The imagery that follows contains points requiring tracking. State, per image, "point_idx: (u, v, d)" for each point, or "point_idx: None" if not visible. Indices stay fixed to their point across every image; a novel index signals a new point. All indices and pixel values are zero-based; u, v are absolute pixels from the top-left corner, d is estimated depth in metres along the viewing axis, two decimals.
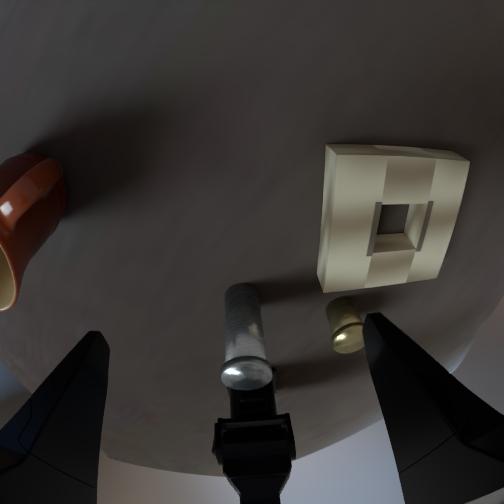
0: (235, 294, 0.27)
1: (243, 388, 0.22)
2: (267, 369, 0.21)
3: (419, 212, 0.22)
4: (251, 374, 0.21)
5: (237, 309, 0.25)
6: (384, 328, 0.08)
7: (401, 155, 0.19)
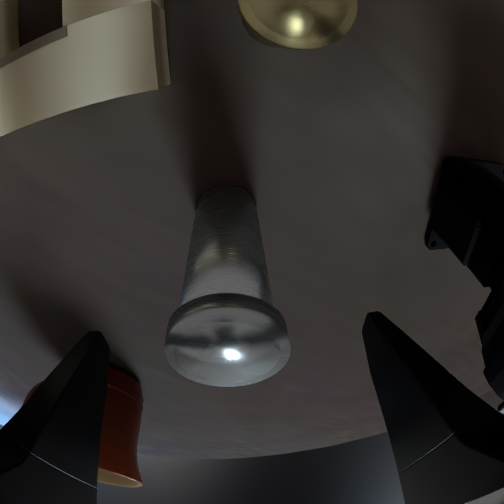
0: None
1: (280, 358, 0.09)
2: (184, 326, 0.08)
3: None
4: (207, 350, 0.08)
5: None
6: (384, 328, 0.08)
7: None
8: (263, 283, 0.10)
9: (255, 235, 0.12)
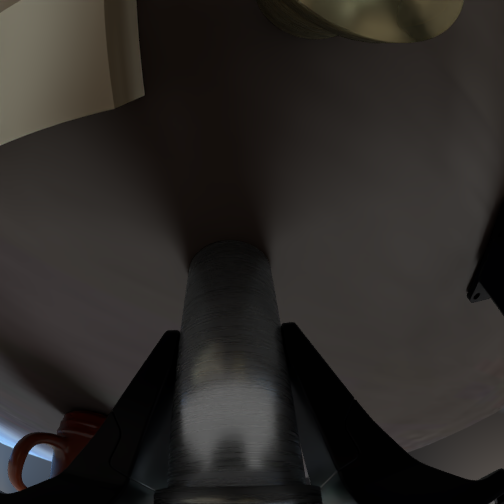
0: None
1: None
2: None
3: None
4: None
5: None
6: (292, 341, 0.08)
7: None
8: (289, 434, 0.06)
9: (274, 336, 0.08)
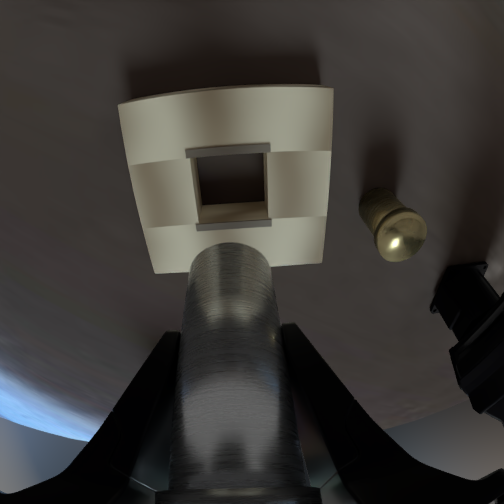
0: None
1: None
2: None
3: None
4: None
5: None
6: (292, 341, 0.08)
7: (139, 209, 0.18)
8: (290, 436, 0.06)
9: (274, 339, 0.08)
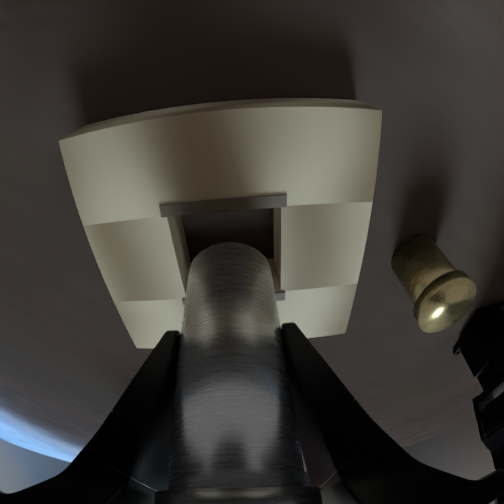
0: None
1: None
2: None
3: None
4: None
5: None
6: (292, 341, 0.08)
7: (106, 278, 0.13)
8: (289, 436, 0.06)
9: (274, 338, 0.08)
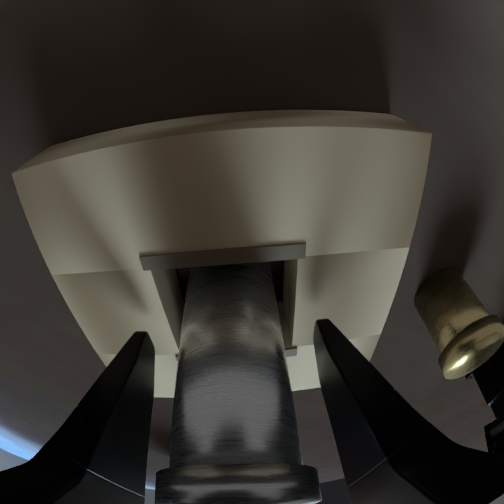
0: None
1: (306, 503, 0.05)
2: (178, 502, 0.04)
3: None
4: None
5: None
6: (329, 337, 0.08)
7: (87, 329, 0.11)
8: (286, 417, 0.06)
9: (272, 325, 0.09)
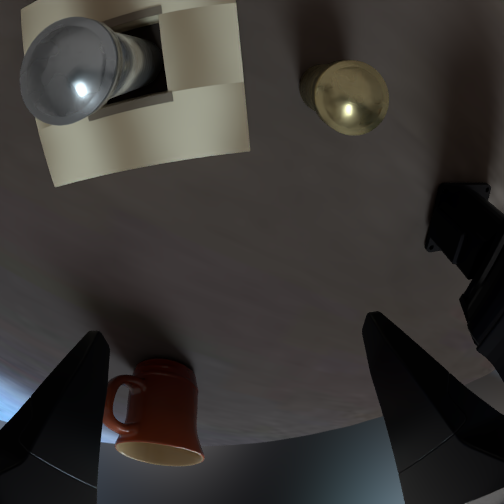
0: None
1: (107, 66, 0.07)
2: (33, 42, 0.06)
3: None
4: (48, 66, 0.07)
5: None
6: (384, 328, 0.08)
7: None
8: (116, 35, 0.08)
9: (136, 39, 0.10)
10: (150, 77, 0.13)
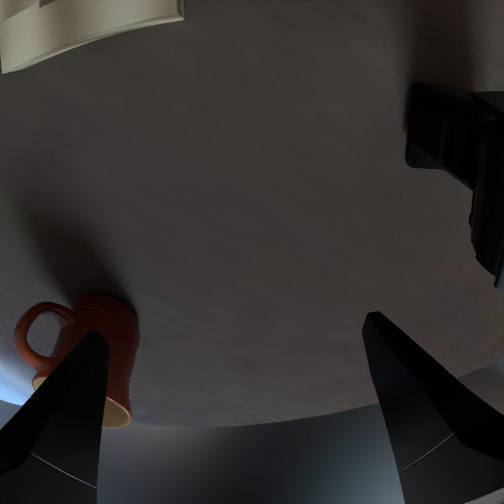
0: None
1: None
2: None
3: None
4: None
5: None
6: (384, 328, 0.08)
7: (1, 9, 0.08)
8: None
9: None
10: None
